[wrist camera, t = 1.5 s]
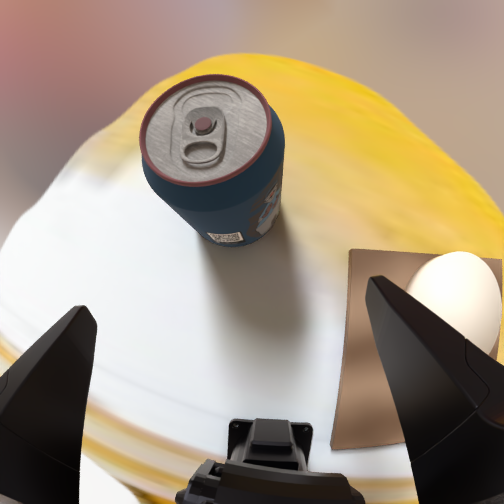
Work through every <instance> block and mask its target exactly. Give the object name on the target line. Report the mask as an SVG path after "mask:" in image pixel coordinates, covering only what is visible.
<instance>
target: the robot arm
mask: <svg viewBox="0 0 504 504" xmlns="http://www.w3.org/2000/svg"><path fill="white" fill-rule="evenodd" d="M365 303H366V307H367V311H368V315H369V319H370V323H371V328H372V332H373V336H374V341H375V345H376V348H377V351H378V354H379V357H380V360H381V363H382V366H383V369H384V372H385V375H386V378H387V381H388V384H389V387H390V391H391V394H392V397H393V400H394V404H395V407H396V410H397V414H398V417H399V421H400V424H401V428H402V432H403V435H404V439H405V443H406V447H407V451H408V455H409V459H410V462H411V468H412V472H413V477H414V481H415V486H416V491H417V496H418V501H419V504H504V366H503V365H502V364H500V363H499V362H497V361H496V360H495V359H493V358H492V357H490V356H489V355H488V354H486V353H485V352H484V351H482V350H481V349H480V348H479V347H477V346H476V345H475V344H474V343H472V342H471V341H470V340H469V339H467V338H466V339H465V336H463V335H462V334H461V333H460V332H458V331H457V330H456V329H455V328H453V327H452V326H451V325H449V324H448V323H447V322H446V321H444V320H443V319H442V318H440V317H439V316H438V315H437V314H435V313H434V312H433V311H431V310H430V309H429V308H427V307H426V306H425V305H423V304H422V303H421V302H419V301H418V300H417V299H415V298H414V297H413V296H411V295H410V294H408V293H407V292H406V291H404V290H403V289H402V288H400V287H399V286H397V285H396V284H395V283H393V282H392V281H391V280H389V279H388V278H386V277H385V276H383V275H375V276H371V277H369V279H368V283H367V289H366V295H365ZM96 335H97V323H96V321H95V319H94V318H93V316H92V314H91V313H90V311H89V310H88V308H87V307H86V306H84V305H79V306H74V307H73V308H72V309H71V310H70V311H68V312H67V313H66V314H65V315H64V316H63V317H62V318H61V319H60V320H58V321H57V322H56V323H55V324H54V325H53V326H52V327H51V328H50V329H49V330H48V331H47V332H46V333H44V334H43V335H42V336H41V337H40V338H39V339H38V340H37V341H36V342H35V343H34V344H33V345H32V346H31V347H30V348H29V349H28V350H27V351H26V352H25V353H24V354H23V355H22V356H21V357H20V358H19V359H18V360H17V361H16V362H15V363H14V364H13V365H12V366H11V367H10V368H9V369H8V370H7V371H6V372H5V373H4V374H3V375H2V376H1V377H0V504H79V480H80V472H79V471H80V460H81V459H80V458H81V447H82V437H83V428H84V419H85V412H86V405H87V398H88V392H89V386H90V380H91V375H92V369H93V361H94V352H95V343H96ZM234 423H236V424H238V425H239V426H238V427H235V426H233V424H234ZM305 427H308V428H309V429H308V430H306V431H305V430H303V429H304V428H305ZM312 431H313V428H312V425H311V424H310V423H297V422H289V421H288V420H276V419H259V418H257V419H255V420H244V419H233V420H231V421H230V424H229V435H228V453H227V459H226V462H225V464H221V463H217V462H216V461H214V460H210V459H207V460H206V461H205V463H204V464H203V465H202V464H201V466H200V467H199V468H198V470H197V471H196V472H195V473H194V475H193V476H192V477H191V479H190V480H189V483H188V486H187V488H185V489H183V490H181V491H178V492H177V494H176V497H175V502H176V503H177V504H365V500H364V498H363V495H362V494H361V493H360V492H358V491H357V490H355V489H354V488H353V487H351V486H350V485H349V482H348V480H347V478H346V477H345V476H344V475H342V474H339V473H319V472H307V461H308V456H309V450H310V444H311V438H312Z"/></svg>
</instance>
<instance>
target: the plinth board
mask: <svg viewBox="0 0 504 504" xmlns="http://www.w3.org/2000/svg"><path fill="white" fill-rule="evenodd" d="M375 275H383V276H385V277H386V278H388V279H389V280H391V281H392V282H393V283H395V284H396V285H397V286H399V287H400V288H402V289H403V290H404V291H406V292H407V293H408V294H410V295H411V296H413V297H414V298H415V299H417V300H418V301H419V302H421V303H422V304H423V305H425V306H426V307H427V308H429V309H430V310H431V311H433V312H434V313H435V314H437V315H438V316H439V317H440V318H442V319H443V320H444V321H446V322H447V323H448V324H449V325H451V326H452V327H453V328H455V329H456V330H457V331H458V332H460V333H461V334H462V335H463V336H465V339H466V338H467V339H469V340H470V341H471V342H472V343H474V344H475V345H476V346H477V347H479V348H480V349H481V350H482V351H484V352H485V353H486V354H488V355H489V356H490V357H492V358H493V359H495V360H497V353H498V345H499V336H500V325H501V317H502V259H492V258H479V257H477V256H475V255H474V254H471V253H468V252H453V253H449V254H445V255H439V254H425V253H411V252H396V251H382V250H367V249H351V250H349V269H348V293H347V311H346V325H345V337H344V348H343V357H342V367H341V375H340V383H339V391H338V398H337V405H336V411H335V418H334V424H333V430H332V435H331V441H330V446H331V448H332V449H349V448H362V447H372V446H380V445H388V444H395V443H401V442H405V439H404V435H403V432H402V428H401V424H400V421H399V417H398V414H397V410H396V407H395V404H394V400H393V397H392V394H391V391H390V387H389V384H388V381H387V378H386V375H385V372H384V369H383V366H382V363H381V360H380V357H379V354H378V351H377V348H376V345H375V341H374V336H373V332H372V328H371V323H370V319H369V315H368V311H367V307H366V303H365V295H366V289H367V283H368V279H369V277H371V276H375Z"/></svg>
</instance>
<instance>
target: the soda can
mask: <svg viewBox="0 0 504 504" xmlns="http://www.w3.org/2000/svg"><path fill="white" fill-rule="evenodd" d="M139 142H140V149H141V153H142V166H143V171H144V174H145V177H146V179H147V181H148V183H149V185H150V186H151V188H152V189H153V190H154V192H155V193H156V194H157V195H158V196H159V197H160V198H161V199H162V200H164V201H165V202H166V203H167V204H168V205H169V206H170V207H171V208H172V209H173V210H174V211H175V212H177V213H178V214H179V215H180V216H181V217H182V218H183V219H184V220H185V221H186V222H187V223H188V224H190V225H191V226H192V227H193V228H194V229H195V230H196V231H197V232H198V233H199V234H200V235H202V236H203V237H204V238H205V239H207V240H208V241H210V242H212V243H214V244H217V245H221V246H226V247H238V246H244V245H247V244H250V243H252V242H254V241H256V240H258V239H260V238H261V237H262V236H264V235H265V234H266V233H267V232H268V231H269V230H270V228H271V227H272V226H273V224H274V223H275V221H276V219H277V216H278V213H279V209H280V200H281V188H282V176H283V162H284V149H285V137H284V131H283V127H282V124H281V122H280V120H279V118H278V116H277V114H276V113H275V111H274V110H273V109H272V108H271V107H270V105H269V104H268V103H267V101H266V99H265V97H264V96H263V95H262V93H261V92H260V91H259V90H258V89H257V88H256V87H254V86H253V85H252V84H250V83H248V82H247V81H245V80H242V79H240V78H237V77H234V76H229V75H222V74H209V75H202V76H197V77H193V78H190V79H187V80H184V81H182V82H180V83H178V84H176V85H174V86H173V87H171V88H170V89H168V90H167V91H165V92H164V93H163V94H162V95H161V96H159V97H158V98H157V99H156V100H155V101H154V103H153V104H152V105H151V106H150V108H149V109H148V111H147V112H146V114H145V116H144V119H143V121H142V124H141V128H140V136H139Z"/></svg>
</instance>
